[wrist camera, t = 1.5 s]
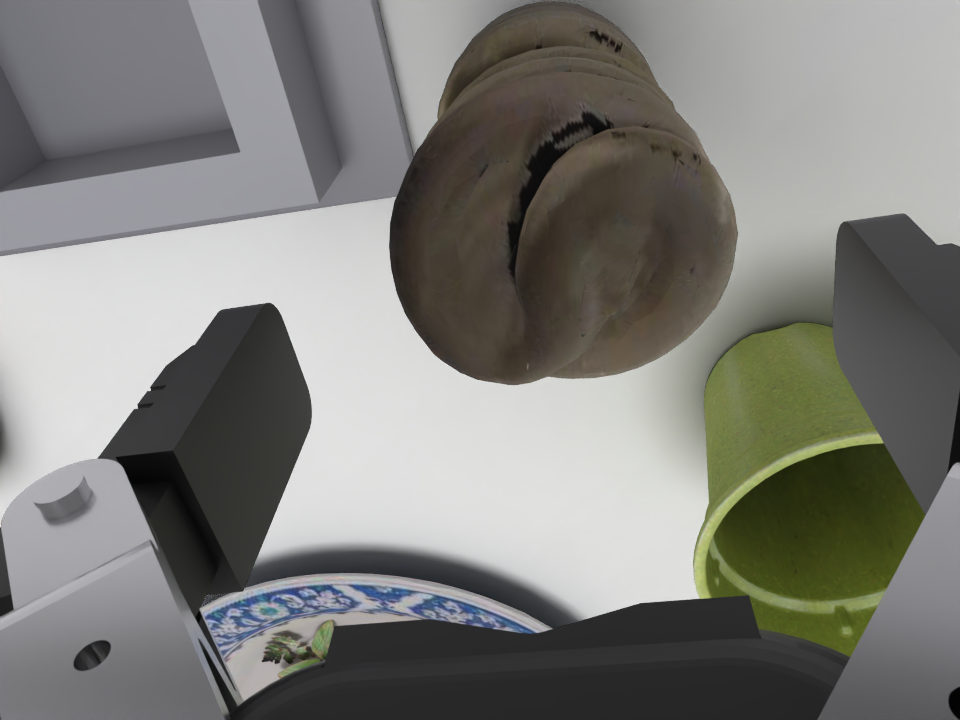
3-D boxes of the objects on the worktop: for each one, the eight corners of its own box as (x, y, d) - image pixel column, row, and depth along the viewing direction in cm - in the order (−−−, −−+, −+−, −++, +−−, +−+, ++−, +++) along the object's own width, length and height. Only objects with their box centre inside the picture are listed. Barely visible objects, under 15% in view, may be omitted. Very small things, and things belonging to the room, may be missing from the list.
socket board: (293, -361, 19) (241, -401, 16) (419, 185, 27) (401, 230, 24) (-251, -210, 22) (-388, -221, 19) (-2, 248, 29) (-70, 297, 26)
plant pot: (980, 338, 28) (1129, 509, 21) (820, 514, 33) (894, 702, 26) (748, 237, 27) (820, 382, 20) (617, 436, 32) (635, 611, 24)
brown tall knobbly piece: (649, -44, 23) (769, 90, 10) (651, 146, 25) (745, 438, 13) (453, -20, 23) (331, 134, 11) (476, 163, 26) (402, 453, 14)
